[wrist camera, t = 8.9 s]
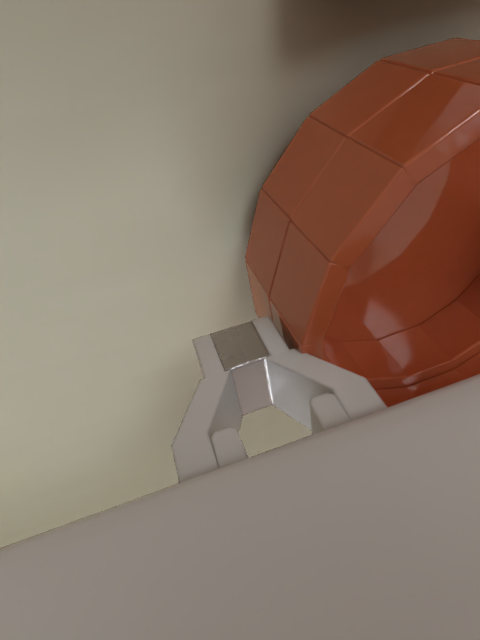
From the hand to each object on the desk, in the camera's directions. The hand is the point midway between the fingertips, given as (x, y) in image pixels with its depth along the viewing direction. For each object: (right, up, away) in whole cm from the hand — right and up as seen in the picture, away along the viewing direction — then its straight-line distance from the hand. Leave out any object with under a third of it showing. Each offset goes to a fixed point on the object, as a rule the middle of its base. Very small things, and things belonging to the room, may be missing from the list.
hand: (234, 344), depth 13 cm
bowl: (+6, +4, +3) cm, 7 cm away
